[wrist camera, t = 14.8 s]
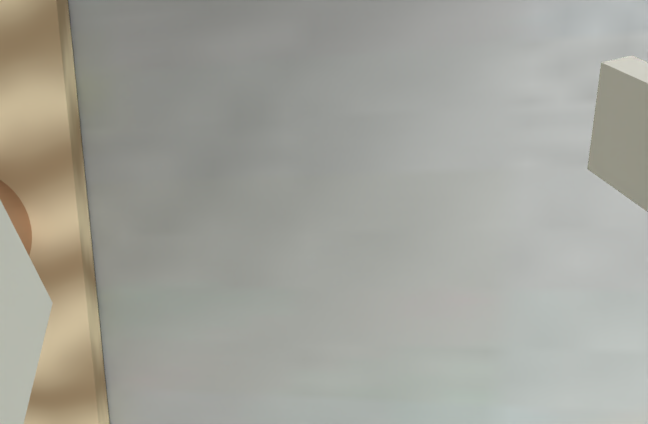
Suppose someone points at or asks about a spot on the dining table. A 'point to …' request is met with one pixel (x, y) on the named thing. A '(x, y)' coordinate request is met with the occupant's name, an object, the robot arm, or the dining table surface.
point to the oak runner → (52, 205)
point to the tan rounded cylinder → (17, 214)
